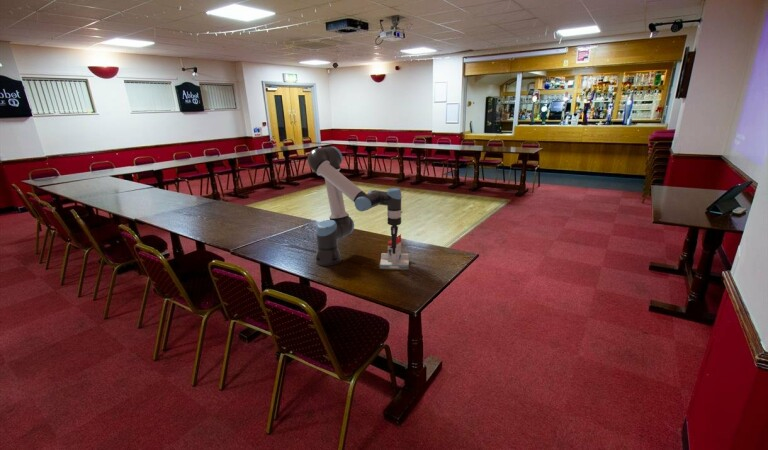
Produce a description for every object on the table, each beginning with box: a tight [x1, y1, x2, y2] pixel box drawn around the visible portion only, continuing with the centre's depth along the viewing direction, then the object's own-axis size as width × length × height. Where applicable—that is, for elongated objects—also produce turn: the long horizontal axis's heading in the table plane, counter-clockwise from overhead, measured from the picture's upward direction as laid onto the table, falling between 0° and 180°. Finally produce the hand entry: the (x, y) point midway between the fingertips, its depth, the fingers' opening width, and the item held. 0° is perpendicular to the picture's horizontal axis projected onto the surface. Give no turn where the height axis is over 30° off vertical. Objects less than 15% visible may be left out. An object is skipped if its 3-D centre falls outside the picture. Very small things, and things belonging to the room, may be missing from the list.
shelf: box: [379, 252, 410, 271], centre depth 205 cm, size 16×12×4 cm
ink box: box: [387, 233, 402, 263], centre depth 203 cm, size 8×5×15 cm, turn 155°
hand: (394, 255), depth 204 cm, fingers closed on ink box, 9 cm apart
